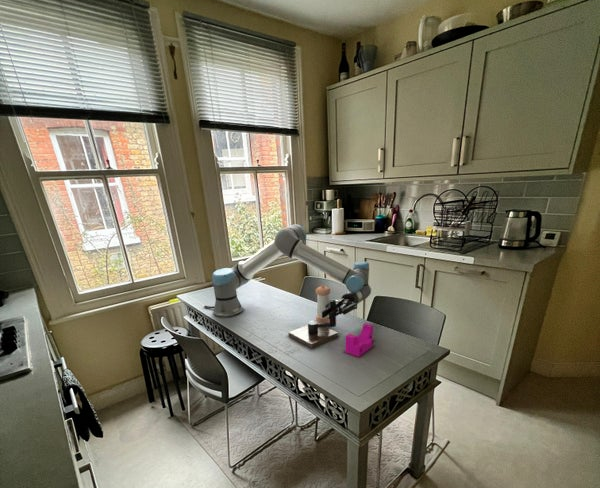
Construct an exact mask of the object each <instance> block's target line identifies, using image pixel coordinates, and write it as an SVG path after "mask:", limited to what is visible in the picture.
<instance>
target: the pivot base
mask: <svg viewBox="0 0 600 488" xmlns="http://www.w3.org/2000/svg"><path fill="white" fill-rule="evenodd" d="M338 336H339V332H338V331H335V330H334V329H331V328H330V327H320V328H318V333H317V334H309V333H308V324H306V325H303V326H301V327H299V328H296V329H293V330H291V331H288V337H289V338H290V339H292V340H295V341H297V342H299V343H300V344H302V345H304V346H306V347H308V348H309V349H314V348H316V347H317V346H320V345H322V344H325V343H327V342H329V341H331V340H333V339H335V338H338Z"/></svg>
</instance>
